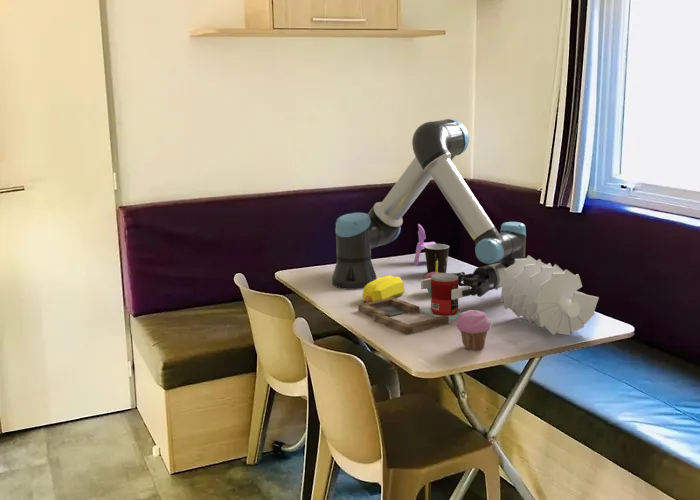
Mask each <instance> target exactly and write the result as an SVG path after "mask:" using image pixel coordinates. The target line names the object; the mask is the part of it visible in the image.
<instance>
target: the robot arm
mask: <svg viewBox="0 0 700 500" xmlns="http://www.w3.org/2000/svg"><path fill="white" fill-rule="evenodd" d="M414 131H415V132H414V133H413V135H412V141H411V145H412V150H413V154H414V156H415V157H414V158H413V159H412V161H410V163H409V165H408V166H407V168H406V169H405V170H404V171H403V173H402V174H401V176H400V177H399V179H398V180H396V183H395V184H394V185H393V186H392V187H391V189H390V191H389V192H388V193H387V195H386V196H385V197H384V199H383V200H382V201H379V202H378V201H377V202H375V203H374V205H373V206H372V207H371V209H370V210H369V212H368V213H365V212H352V213H346V214H343V215H340V216H339V217H338V218H337V219H336V221H335V230H334V232H335V245H336V250H335V251H336V264H335V267H334V271H333V274H332V277H331V279H332V280H331V284H332V286H334V287H335V286H337V287H336V288H338V287H340V288H339V289H344V288H346V290H360V289H361V290H362V289H364V287H365V286H366V285H367V284H368V283H370V282H372V281H374V280H376V279H378V278H377V274H376V271H375V269H374V265H373V263H372V262H373V261H372V249H374V248H377V247H380V246H385V245H388V244H391V242H394V241H395V240H396V239H397V238H398V237H399V235H400V233H401V229H402V227H401V226H402V225H403V222H404V220H403V216H404V215H405V214H406V213H407V211H408V210H409V209H410V208H411V206H412V204H413V203H414V202H415V201H416V199H418V197H419V195H420V194H421V193H422V192H423V190H424V189H425V188H426V186H428V184H429V182H430V181H431V180H433V181H434V182H435V184H436V185H437V186H438V189H439V190H440V191H441V193H442V194H443V197H445V199H446V201H447V202H448V203H449V206H450V207H451V209H452V210H453V211H454V213H455V215H456V216H457V218H458V219H459V220H460V222H461V224H462V225H463V226H464V229H465V230H466V231H467V233H468V234H469V236H470V237H471V239H472V240H473V241H474V243H475V247H474V251H475V257H476V259H477V260H478V261H479V262H481V263H483V264H486V265H484V266H483V265H482V266H479V267H476V268H475V269H474V270H473V272H471V273H467V274H466V272H464V271H462V272H461V271H460V272H452V273H451V272H450V273H451V274H455V275H457V276H458V289H453V290H452V291H451V299H453V300H454V299H458V300H459V299H462V298H466V297H470V296H473V297H475V296H477V297H479V298H481V297H482V296H484V295H485V294H487V293H488V292H489V291H492V290H496V291H497V290H499V288H501V289H502V287H500V286H499V284H500V282H501V281H502V279H503V278H504V276H505V272H504V270H505V269H506V268H508V267H509V266H511V265H513V264H514V263H515V259H526V241H527V239H526V238H527V230H526V225H525V224H524V223H522V222H518V221H508V222H507V221H506V222H502V224H501V225H500V232H499V231H498V230H497V228H496V227H495V225H494V224H493V222H492V220H491V219H490V217H489V216H488V214H487V213H486V212H485V210H484V208H483V207H482V205H481V204H480V202H479V201H478V199H477V198H476V196H475V195H474V193H473V192H472V190H471V189H470V187H469V186H468V184H467V183H466V181H465V180H464V178H463V176H462V174H460V172H459V171H458V169H457V167H456V165H455V163H453V159H454V158H455V157H457V156H459V155H462V154H463V153H464V152H465V151H466V150H467V149H468V146H469V142H470V137H469V136H470V135H469V131H468V130H467V128H466V126H465V124H463V122H461V121H459V120H457V119H451V118H445V119H441V120H435V121H426V122H424V123H422V124H420V125H419V126H418V127H417V128H416V130H414ZM427 288H431V278H429V279H424V280H423V279H420V289H421V290H427Z"/></svg>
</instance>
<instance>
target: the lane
mask: <svg viewBox="0 0 700 500" xmlns="http://www.w3.org/2000/svg"><path fill="white" fill-rule="evenodd" d="M357 306H358V307H357V308H358V309H357V310H358V312H359V311H360V313H362V314H365V315H367V316H368V317H369V316H370V317H372V318H374V322H376V323H378V324H380V325H382V326H385V327H388V328H389V329H393V330H395V331H397V332H399V333H402V334H405V335H406V336H407V335H412V334H414V333H416V334H417V333H420V332H423V331H427V330H430V329H434V328H438V327H442V326H446V325H449V324H450V321H449V317H447V316H440V317H432V318H428V319H425V320H419V321H417V322H412V323H409V324H408V323H405V322H403V321H401V320H398V319H395V318H393V317H396V316H399V315H400V316H401V315H404V314H408V313H410V314H413V315H416V314H418V315H419V314H420V306H419V305H416V304H414V303H410V302H407V301H405V300H402V299H399V298H397V297H390V298H386V299H382V300H377V301H373V302H368V303H367V302H364V303H360V304H358V305H357Z"/></svg>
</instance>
